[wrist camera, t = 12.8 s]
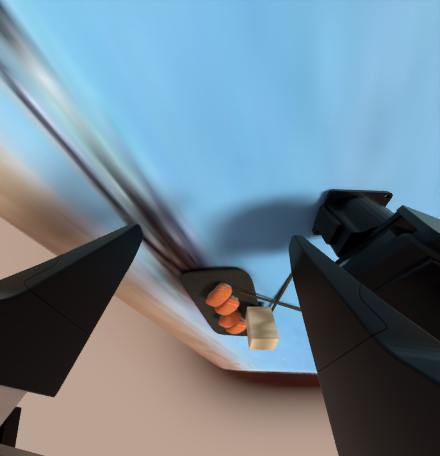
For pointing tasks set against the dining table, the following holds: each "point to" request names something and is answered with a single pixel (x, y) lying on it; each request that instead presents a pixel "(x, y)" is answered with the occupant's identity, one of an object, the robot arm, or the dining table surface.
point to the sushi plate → (226, 298)
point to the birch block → (261, 328)
